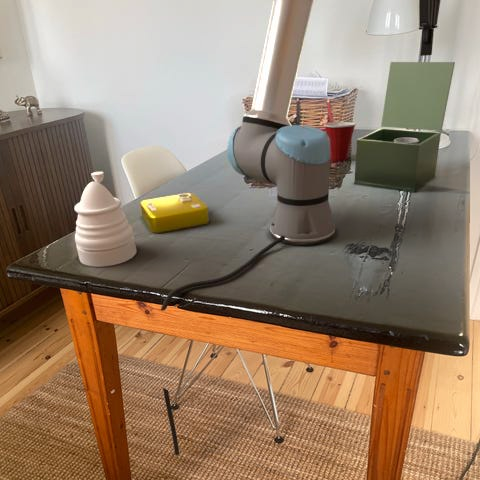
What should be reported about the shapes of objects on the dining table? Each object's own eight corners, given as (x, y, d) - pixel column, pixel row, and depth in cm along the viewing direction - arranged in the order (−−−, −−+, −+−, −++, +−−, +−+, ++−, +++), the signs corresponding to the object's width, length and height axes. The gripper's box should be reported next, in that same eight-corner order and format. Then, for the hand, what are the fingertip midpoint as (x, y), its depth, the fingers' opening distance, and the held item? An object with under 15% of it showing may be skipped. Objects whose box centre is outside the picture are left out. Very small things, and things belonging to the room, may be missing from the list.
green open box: (413, 192, 141) (419, 145, 135) (354, 183, 151) (356, 139, 144) (434, 177, 152) (441, 132, 146) (377, 170, 162) (381, 128, 155)
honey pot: (101, 241, 123) (85, 166, 114) (147, 246, 119) (134, 168, 110) (67, 263, 113) (47, 183, 104) (116, 269, 109) (99, 186, 100)
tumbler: (407, 183, 146) (412, 143, 140) (385, 179, 150) (389, 141, 144) (418, 177, 150) (423, 139, 145) (397, 174, 154) (400, 136, 149)
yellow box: (141, 216, 137) (138, 199, 135) (194, 206, 141) (192, 189, 139) (153, 234, 125) (150, 216, 123) (211, 223, 129) (209, 205, 127)
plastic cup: (352, 154, 180) (354, 118, 174) (355, 162, 171) (358, 125, 165) (321, 155, 182) (322, 120, 175) (323, 163, 172) (324, 126, 166)
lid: (454, 62, 138) (455, 62, 139) (390, 61, 148) (391, 62, 149) (440, 130, 145) (441, 130, 146) (380, 126, 155) (381, 126, 156)
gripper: (427, -42, 140) (421, 54, 152) (410, -44, 131) (404, 58, 143) (456, -47, 136) (446, 52, 147) (439, -50, 127) (431, 56, 139)
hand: (426, 55), depth 145 cm, fingers closed
